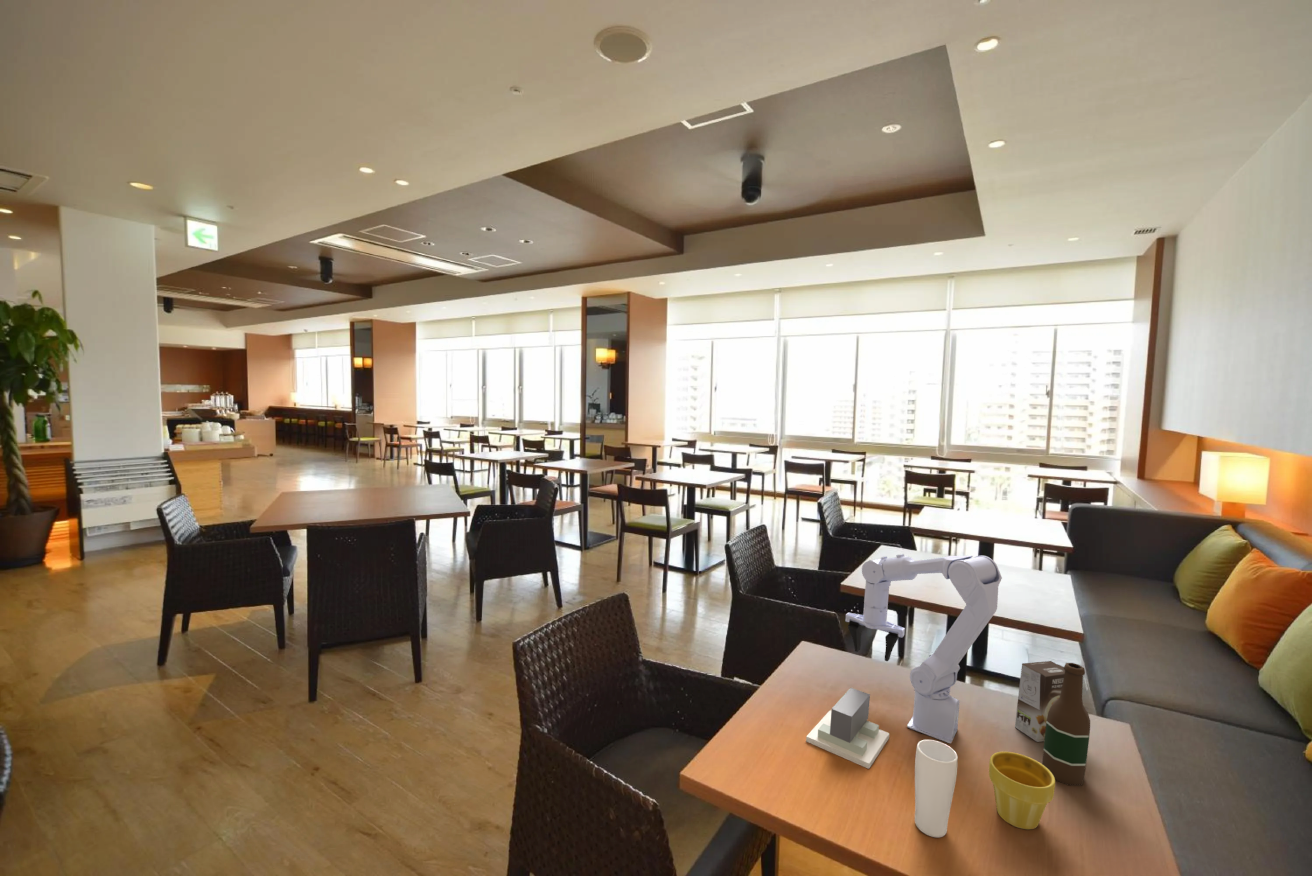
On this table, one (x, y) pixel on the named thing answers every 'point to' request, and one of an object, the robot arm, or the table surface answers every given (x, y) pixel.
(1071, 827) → the table surface
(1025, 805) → the plant pot
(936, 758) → the drinking glass
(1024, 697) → the coffee box
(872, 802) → the table surface
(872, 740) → the stand
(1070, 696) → the beer bottle
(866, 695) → the grey upright block
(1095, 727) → the table surface
